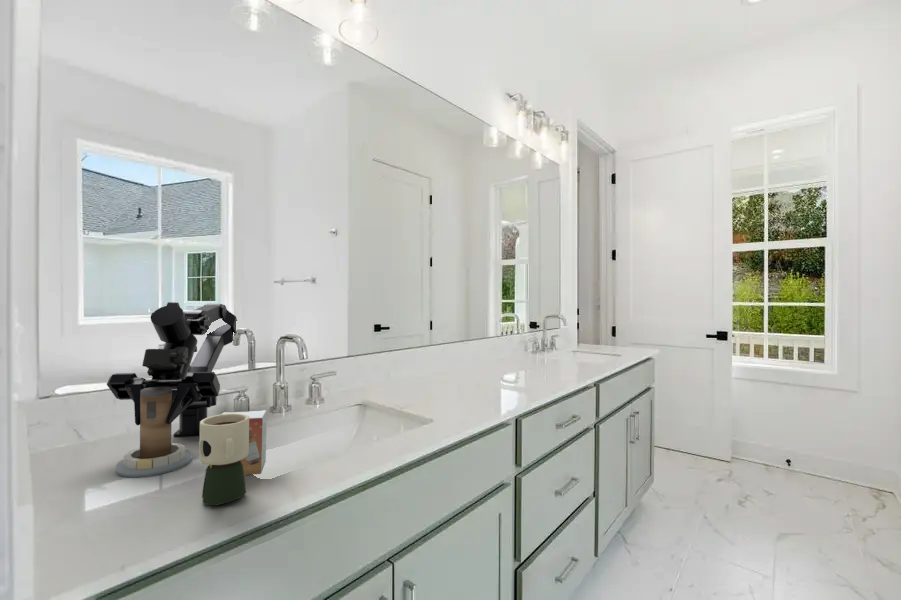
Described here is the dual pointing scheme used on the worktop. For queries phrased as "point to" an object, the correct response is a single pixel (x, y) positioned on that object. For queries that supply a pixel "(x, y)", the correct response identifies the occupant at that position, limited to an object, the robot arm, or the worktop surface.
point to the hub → (153, 462)
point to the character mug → (223, 456)
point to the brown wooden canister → (155, 422)
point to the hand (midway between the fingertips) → (152, 423)
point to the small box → (255, 442)
